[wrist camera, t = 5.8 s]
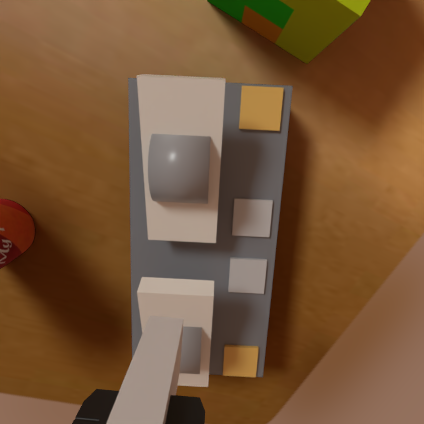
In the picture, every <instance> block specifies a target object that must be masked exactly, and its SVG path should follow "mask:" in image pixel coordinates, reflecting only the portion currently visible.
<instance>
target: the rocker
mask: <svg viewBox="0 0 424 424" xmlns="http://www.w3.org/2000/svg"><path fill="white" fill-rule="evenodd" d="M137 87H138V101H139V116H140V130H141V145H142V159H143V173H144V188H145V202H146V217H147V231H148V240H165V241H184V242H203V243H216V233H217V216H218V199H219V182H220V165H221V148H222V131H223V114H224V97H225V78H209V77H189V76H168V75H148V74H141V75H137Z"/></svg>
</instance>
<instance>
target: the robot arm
mask: <svg viewBox="0 0 424 424" xmlns="http://www.w3.org/2000/svg"><path fill="white" fill-rule="evenodd" d="M183 322H184V319H181V318H170V317H159V316H149V319H148V321H147V324H146V326H145V329H144V331H143V334H142V336H141V339H140V341H139V344H138V346H137V349H136V351H135V354H134V356H133V359H132V361H131V364H130V366H129V369H128V371H127V374H126V376H125V378H124V381H123V383H122V386H121V388H120V391H112V390H102V389H96V390H95V391H94V392H93V393H92V394H91V395H90V396H89V397H88V398H87V399H86V400H85V401H84V402H83V404H82V406H81V408H80V410H79V412H78V413H77V415H76V419H75V420H74V421H73V423H72V424H204V422H205V410H204V408H203V405H202V402H201V400H200V398H198V397H188V396H177V395H176V391H177V385H178V379H179V373H180V362H181V349H182V335H183Z"/></svg>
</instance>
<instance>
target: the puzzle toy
mask: <svg viewBox="0 0 424 424" xmlns="http://www.w3.org/2000/svg"><path fill="white" fill-rule="evenodd" d="M207 1H208V2H210V3H211V4H213V5H214V6H216V7H218V8H219V9H221V10H222V11H224V12H225V13H227V14H229V15H230V16H232V17H233V18H235V19H236V20H238V21H240V22H241V23H243V24H244V25H246V26H248V27H249V28H251V29H252V30H254V31H255V32H257V33H259V34H260V35H262V36H263V37H265V38H267V39H268V40H270V41H271V42H273V43H274V44H276V45H278V46H279V47H281V48H282V49H284V50H285V51H287V52H289V53H290V54H292V55H293V56H295V57H297V58H298V59H300V60H301V61H303V62H304V63H306V64H308V63H309V62H310V61H311V60H312V59H314V58H315V57H316V56H317V55H318V54H319V53H320V52H321V51H323V50H324V49H325V48H326V47H327V46H328V45H329V44H330V43H331V42H333V41H334V40H335V39H336V38H337V37H338V36H339V35H340V34H342V33H343V32H344V31H345V30H346V29H347V28H348V27H349V26H351V25H352V24H353V23H354V22H355V21H356V20H357V19H358V18H360V17H361V15H362V14H363V12H364V10H365V9H366V7H367V5H368V4H369V2H370V0H207Z"/></svg>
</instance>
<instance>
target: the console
mask: <svg viewBox="0 0 424 424" xmlns="http://www.w3.org/2000/svg"><path fill="white" fill-rule="evenodd" d="M128 81H129V156H130V230H131V305H132V359H133V356H134V354H135V351H136V349H137V346H138V344H139V341H140V339H141V336H142V327H141V319H140V312H139V304H138V297H137V290H138V287H139V284H140V281H141V278H142V277H154V278H173V279H192V280H211V281H214V300H213V316H212V332H211V347H210V363H209V374H215V375H223V376H240V377H263V370H264V361H265V351H266V341H267V331H268V322H269V312H270V302H271V292H272V283H273V273H274V263H275V253H276V243H277V234H278V224H279V214H280V204H281V195H282V185H283V175H284V165H285V156H286V146H287V136H288V126H289V117H290V107H291V97H292V87H293V86H284V85H263V84H243V83H225V97H224V114H223V131H222V148H221V165H220V182H219V199H218V216H217V233H216V243H203V242H184V241H165V240H148V231H147V217H146V202H145V188H144V173H143V159H142V145H141V130H140V116H139V101H138V87H137V78H128Z"/></svg>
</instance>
